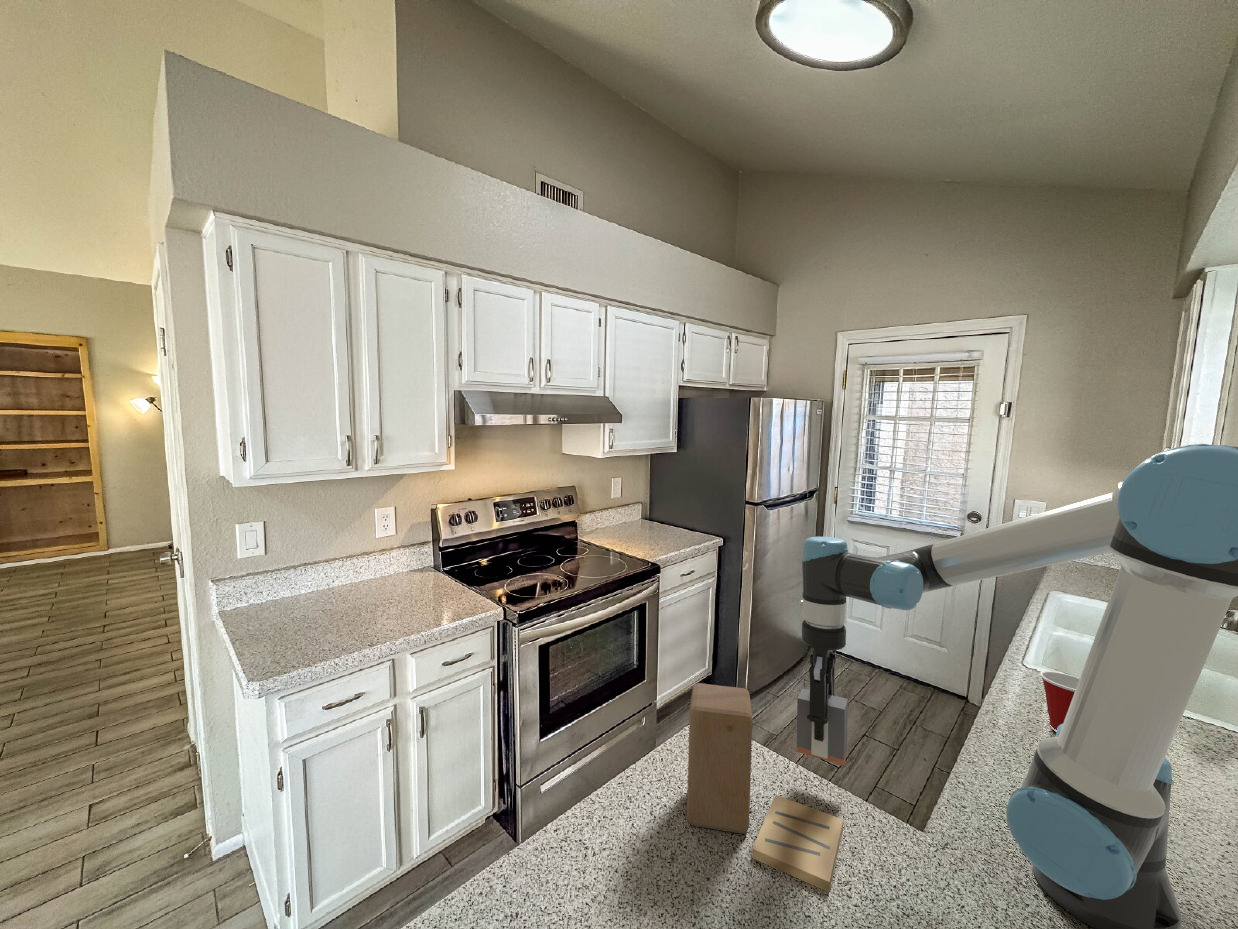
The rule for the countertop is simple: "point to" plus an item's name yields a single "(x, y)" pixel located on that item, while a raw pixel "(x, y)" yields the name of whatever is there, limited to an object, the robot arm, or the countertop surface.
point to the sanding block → (836, 727)
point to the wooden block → (719, 758)
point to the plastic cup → (1058, 695)
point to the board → (799, 842)
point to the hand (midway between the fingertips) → (822, 748)
